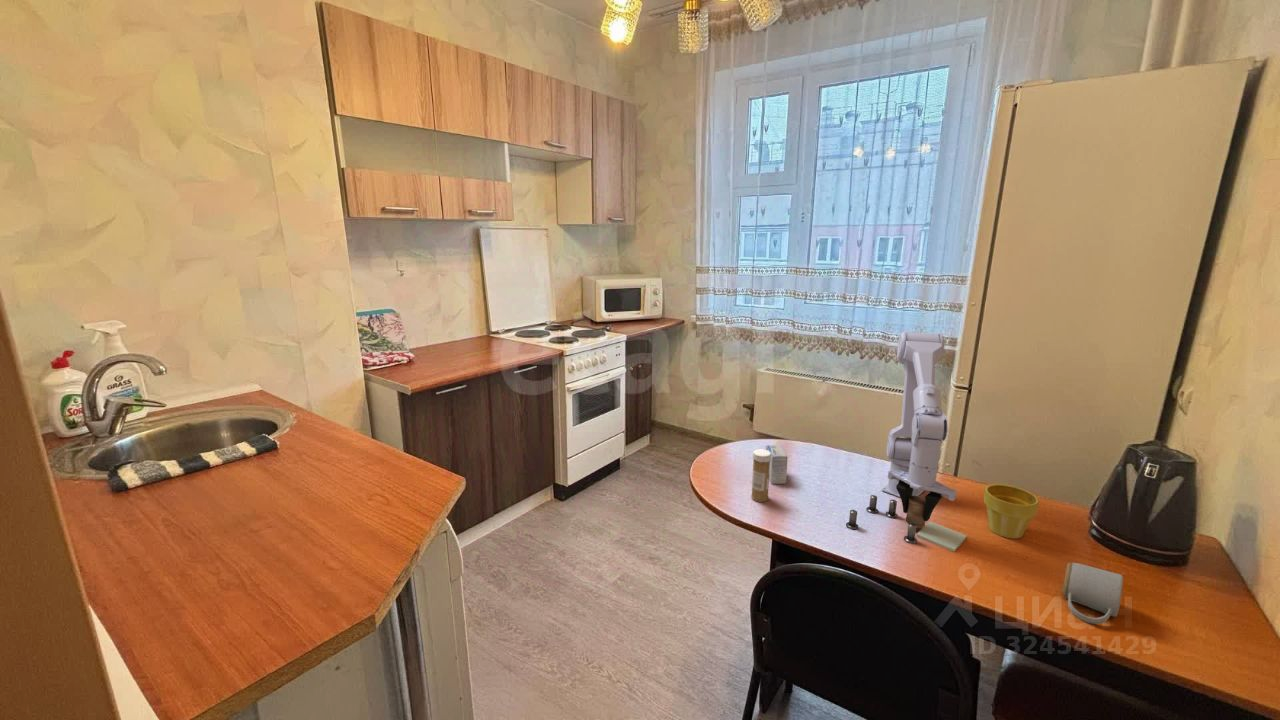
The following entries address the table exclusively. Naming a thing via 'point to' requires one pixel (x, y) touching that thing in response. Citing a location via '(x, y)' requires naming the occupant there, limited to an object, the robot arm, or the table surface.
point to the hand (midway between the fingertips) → (916, 515)
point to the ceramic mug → (1093, 591)
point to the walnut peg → (916, 511)
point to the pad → (941, 536)
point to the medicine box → (777, 464)
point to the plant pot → (1009, 509)
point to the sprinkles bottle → (760, 475)
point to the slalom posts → (891, 514)
